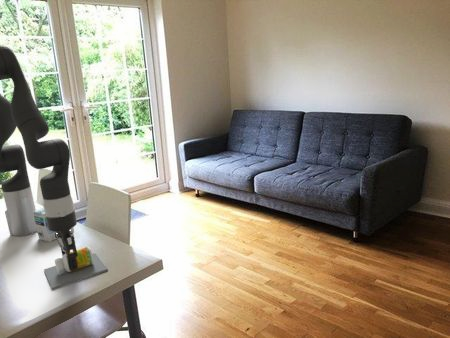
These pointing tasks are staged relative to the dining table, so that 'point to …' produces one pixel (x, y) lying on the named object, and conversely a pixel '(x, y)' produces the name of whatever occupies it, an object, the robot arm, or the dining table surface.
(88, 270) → the placemat
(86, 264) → the supplement bottle
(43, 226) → the light bulb box
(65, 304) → the dining table surface
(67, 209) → the robot arm
